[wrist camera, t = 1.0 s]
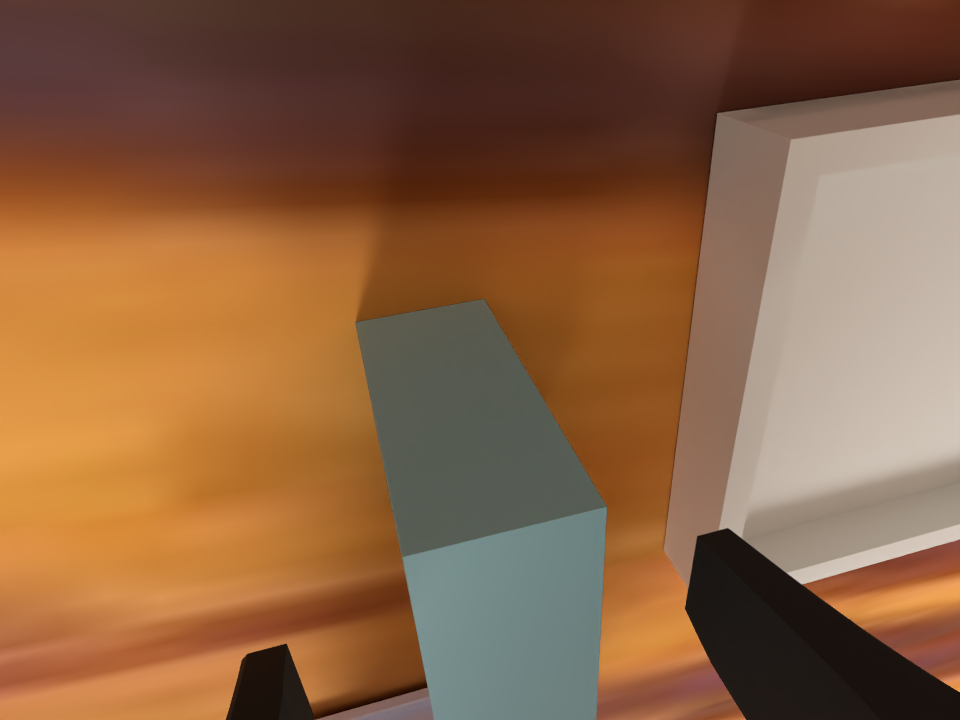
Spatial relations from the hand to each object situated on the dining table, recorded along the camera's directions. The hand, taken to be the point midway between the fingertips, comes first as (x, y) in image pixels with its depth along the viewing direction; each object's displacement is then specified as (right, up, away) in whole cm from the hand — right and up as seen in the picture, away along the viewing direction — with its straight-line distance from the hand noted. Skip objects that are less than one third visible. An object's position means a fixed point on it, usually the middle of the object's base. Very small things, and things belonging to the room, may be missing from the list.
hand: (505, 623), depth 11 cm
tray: (+11, +5, +8) cm, 14 cm away
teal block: (-2, +3, +5) cm, 6 cm away
